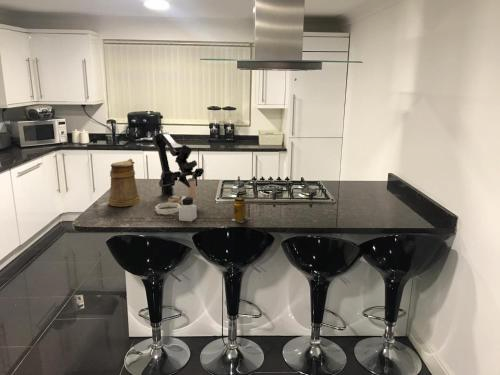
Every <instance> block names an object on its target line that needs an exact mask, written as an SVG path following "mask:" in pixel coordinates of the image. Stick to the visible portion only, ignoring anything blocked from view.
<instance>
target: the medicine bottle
mask: <svg viewBox="0 0 500 375" xmlns="http://www.w3.org/2000/svg"><path fill="white" fill-rule="evenodd" d="M181 200H182V204H181V207H179V211H178V220H179V221H181V220H182V221H183V222H189V221H190V223H191V222H193V221H194V220H196V219H197V216H198V215H197V214H198V213H197V205H195V204H194V198H192V197H189V196H185V197H184V198H182V199H181Z"/></svg>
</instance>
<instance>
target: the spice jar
mask: <svg viewBox="0 0 500 375" xmlns="http://www.w3.org/2000/svg"><path fill="white" fill-rule="evenodd" d="M187 181H188V183H189V185H190V187H187V193H188V196H187V197H192V198H193V199H195V198H197V186H196V180H195V178H192V177H190V178H188V179H187Z"/></svg>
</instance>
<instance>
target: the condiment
mask: <svg viewBox="0 0 500 375" xmlns="http://www.w3.org/2000/svg"><path fill="white" fill-rule="evenodd" d="M245 201H246V199H245V198H244V197H242V196H240V197H239V196H238V197H235V198H234V203H233V210H234V211H233V213H234V214H233V215H234V218H232V219H231V221H234V222H237V223H243V222H246V221H249V220H251V219H252V218H251V217H247V216H246V215H247V214H246V211H247V210H246V202H245Z"/></svg>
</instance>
